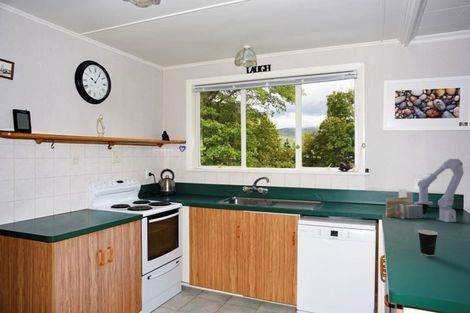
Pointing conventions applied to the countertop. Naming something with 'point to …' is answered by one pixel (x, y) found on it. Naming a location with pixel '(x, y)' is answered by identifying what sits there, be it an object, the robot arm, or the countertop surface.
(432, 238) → the dixie cup
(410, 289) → the countertop surface
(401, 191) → the skincare box
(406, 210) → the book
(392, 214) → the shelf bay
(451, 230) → the countertop surface
